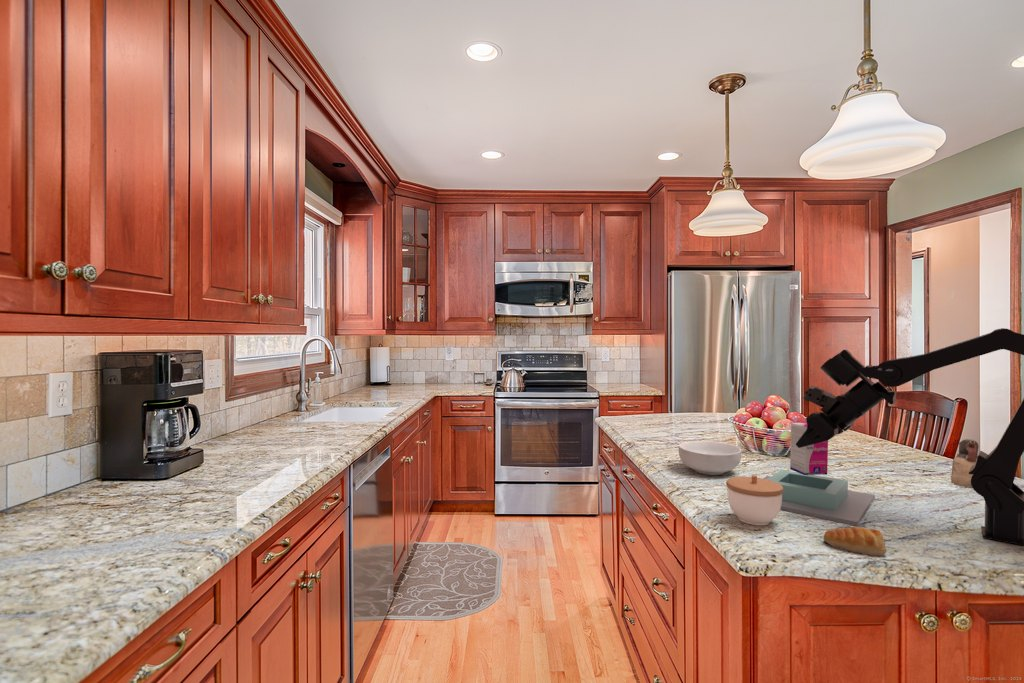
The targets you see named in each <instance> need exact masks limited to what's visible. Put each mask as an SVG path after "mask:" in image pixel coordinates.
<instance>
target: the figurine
mask: <svg viewBox="0 0 1024 683" xmlns="http://www.w3.org/2000/svg"><path fill="white" fill-rule="evenodd" d="M978 452H979V443H978V442H977V440H974V439H968V438H966V439H962V440H961V441H959V442H958V453H957V455H956V456H955V457H954V458H953V459H952V466H951V473H950V481H951V484H953V483H954V484H953V485H955V484H956V486H958V485H960V486H959V487H962V486H964V488H967V487H970V488H969V489H973V487H972V485H971V477H972V475H973V474H969V471H970V468H971V466H973V465H974V464H975V463H976V462H977V459H978V455H979V453H978Z"/></svg>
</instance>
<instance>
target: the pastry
mask: <svg viewBox="0 0 1024 683" xmlns="http://www.w3.org/2000/svg"><path fill="white" fill-rule="evenodd" d="M884 540H885V539H884V536H883V534H882V532H881V530H880V529H876V528H872V529H869V528H865V527H859V526H852V527H843V528H835V529H831V530H827V531H826V532H824V534H823V541H824V542H826V543H827V544H828V545H830V546H831V547H834V548H837V549H841V550H843V551H844V550H845V551H848V552H851V553H857V554H858V553H859V554H865V555H871V556H878V557H879V556H880V557H881V556H885V555H886V553H887V548H886V547H887V546H886V543H885V541H884Z"/></svg>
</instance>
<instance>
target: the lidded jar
mask: <svg viewBox="0 0 1024 683" xmlns="http://www.w3.org/2000/svg"><path fill="white" fill-rule="evenodd" d="M726 491H727V492H726V495H727V501H728V504H729V507H730V510H731V511H732V512H733V514H734V515H735V516H736V517H737V519H738V520H739V521H740V522H742V523H744V524H748V525H753V526H768V525H770V524H771V522H772V521H773V520H774V519H776V518H777V517H778V515H779V513H780V511H781V510H780V509H781V505H782V493H783V487H782V485H780V484H779V483H776V482H774V481H771V480H767V479H763V478H762V477H758V475H756V474H755V475H754V474H752V475H751V476H735V477H733V476H732V477H730V478H728V479H727V480H726Z"/></svg>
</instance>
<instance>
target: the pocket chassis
mask: <svg viewBox="0 0 1024 683" xmlns="http://www.w3.org/2000/svg"><path fill="white" fill-rule="evenodd" d="M762 479H767V480H771V481H774V482H776V483H779V484H780V485H782V487H783V493H782V505H781V509H780V511H785V512H790V513H795V514H800V515H803V516H804V515H805V516H809V517H814V518H818V519H822V520H828V521H833V522H837V523H841V524H847V525H852V526H854V527H859V525H860V524H861V521H862V519H863V518H864V517H865V515H866V513H867V512H866V511H868V510H869V508H870V507H871V505H872V504H873V502H874V500H875V499H874V498H876V495H875V494H872V493H867V492H862V491H861V492H860V491H855V490H849V488H848V487H849V481H848V480H847V479H842V478H841V479H840V478H835V477H827V476H821V475H803V474H800V473H798V472H796V471H793V470H786V469H780V470H779V471H777V472H776V473H773V475H771V476H770V475H769V476H768V475H766V476H764V477H763V478H762ZM871 503H872V504H871ZM869 506H870V507H869Z"/></svg>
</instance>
